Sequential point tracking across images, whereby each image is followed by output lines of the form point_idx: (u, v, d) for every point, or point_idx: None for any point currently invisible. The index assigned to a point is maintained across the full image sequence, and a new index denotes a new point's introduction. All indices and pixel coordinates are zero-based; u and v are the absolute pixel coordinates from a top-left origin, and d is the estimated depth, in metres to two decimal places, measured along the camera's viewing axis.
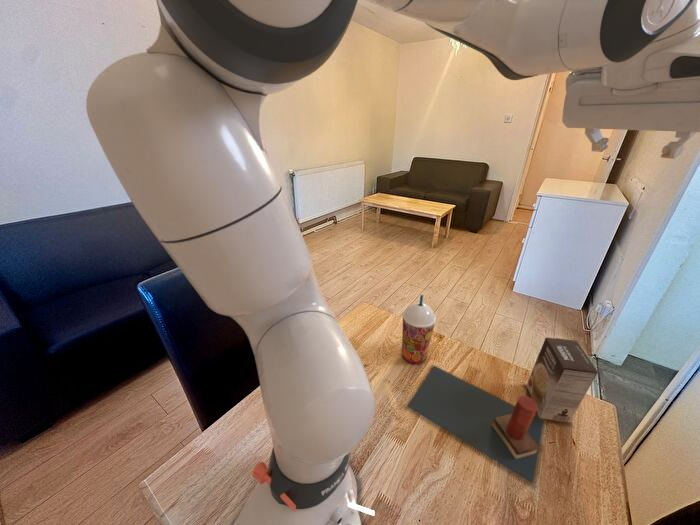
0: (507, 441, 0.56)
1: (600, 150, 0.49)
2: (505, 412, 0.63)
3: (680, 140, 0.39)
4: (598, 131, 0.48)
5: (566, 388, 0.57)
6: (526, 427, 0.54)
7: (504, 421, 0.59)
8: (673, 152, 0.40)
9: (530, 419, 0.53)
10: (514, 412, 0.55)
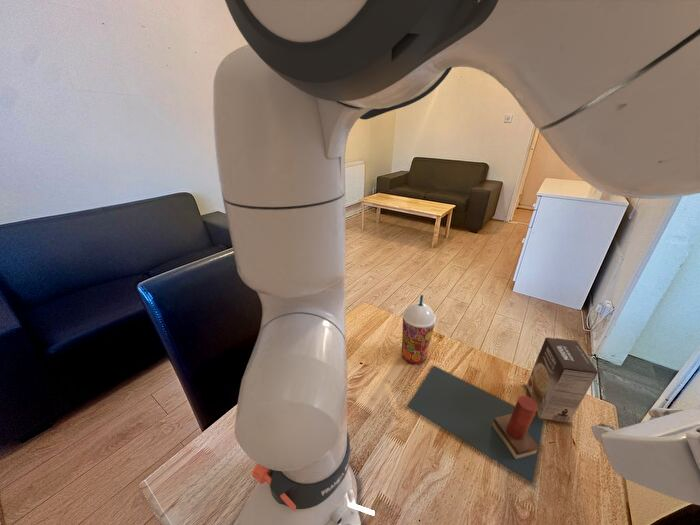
0: (507, 441, 0.56)
1: (651, 410, 0.37)
2: (505, 412, 0.63)
3: (612, 430, 0.33)
4: None
5: (566, 388, 0.57)
6: (526, 427, 0.54)
7: (504, 421, 0.59)
8: (600, 427, 0.35)
9: (530, 419, 0.53)
10: (514, 412, 0.55)
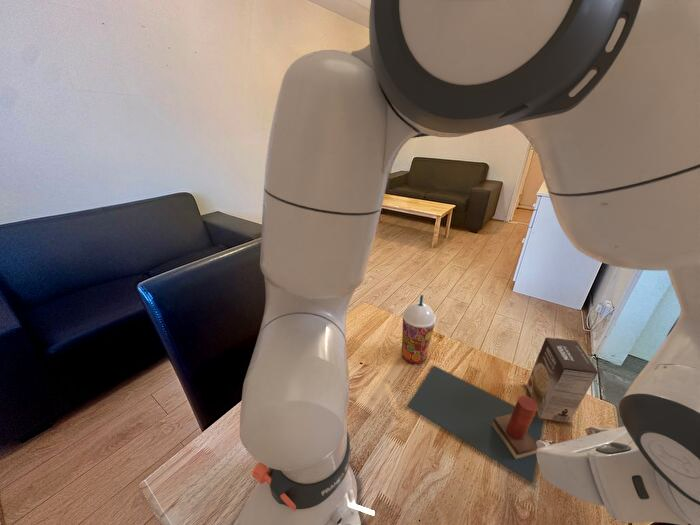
0: (507, 441, 0.56)
1: (587, 429, 0.46)
2: (505, 412, 0.63)
3: (549, 445, 0.42)
4: None
5: (566, 388, 0.57)
6: (526, 427, 0.54)
7: (504, 421, 0.59)
8: (541, 441, 0.44)
9: (530, 419, 0.53)
10: (514, 412, 0.55)
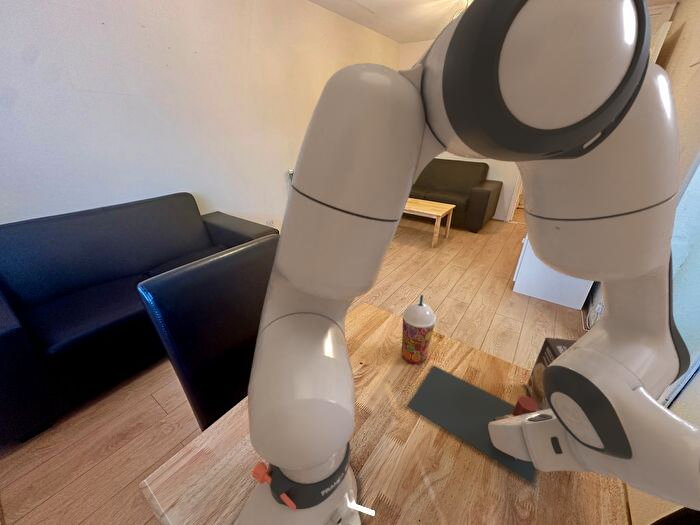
0: None
1: None
2: (505, 412, 0.63)
3: None
4: None
5: None
6: None
7: None
8: (508, 416, 0.54)
9: None
10: (514, 412, 0.55)
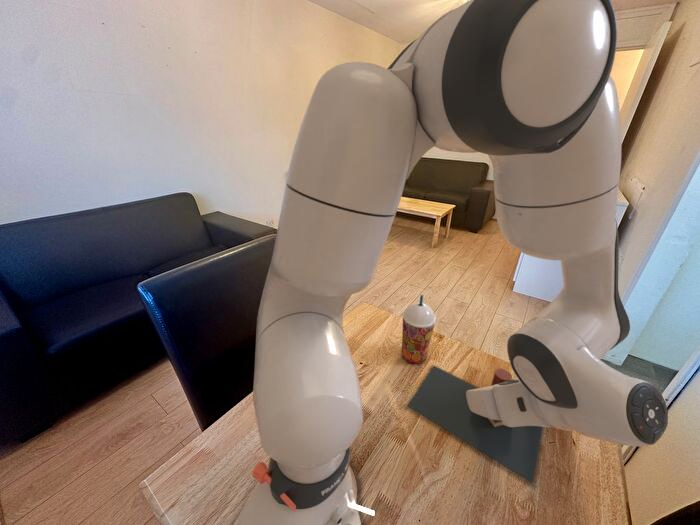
0: None
1: None
2: None
3: None
4: None
5: None
6: None
7: None
8: None
9: None
10: (492, 383, 0.60)
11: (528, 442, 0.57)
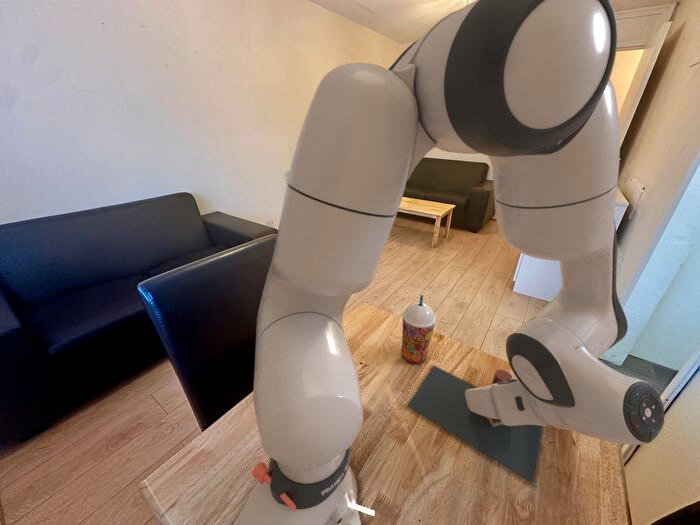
0: None
1: None
2: None
3: None
4: None
5: None
6: None
7: None
8: None
9: None
10: None
11: (528, 442, 0.57)
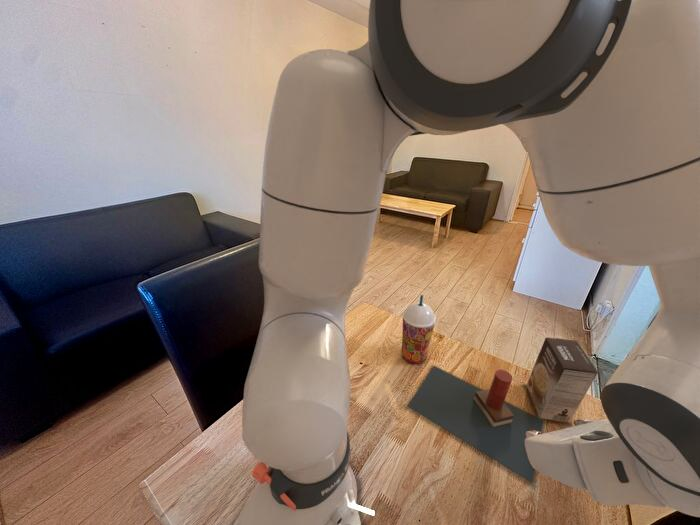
0: (486, 411, 0.62)
1: (575, 421, 0.48)
2: None
3: (537, 435, 0.44)
4: None
5: (566, 388, 0.57)
6: (502, 397, 0.59)
7: (485, 395, 0.64)
8: (531, 432, 0.45)
9: (506, 390, 0.58)
10: (492, 384, 0.60)
11: None
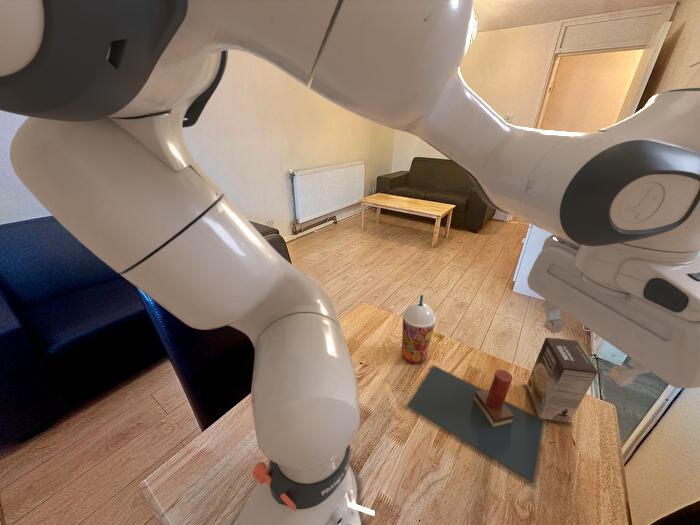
0: (486, 411, 0.62)
1: (552, 330, 0.41)
2: None
3: (632, 370, 0.31)
4: (557, 309, 0.41)
5: (566, 388, 0.57)
6: (502, 397, 0.59)
7: (485, 395, 0.64)
8: (621, 379, 0.32)
9: (506, 390, 0.58)
10: (492, 384, 0.60)
11: (528, 442, 0.57)
